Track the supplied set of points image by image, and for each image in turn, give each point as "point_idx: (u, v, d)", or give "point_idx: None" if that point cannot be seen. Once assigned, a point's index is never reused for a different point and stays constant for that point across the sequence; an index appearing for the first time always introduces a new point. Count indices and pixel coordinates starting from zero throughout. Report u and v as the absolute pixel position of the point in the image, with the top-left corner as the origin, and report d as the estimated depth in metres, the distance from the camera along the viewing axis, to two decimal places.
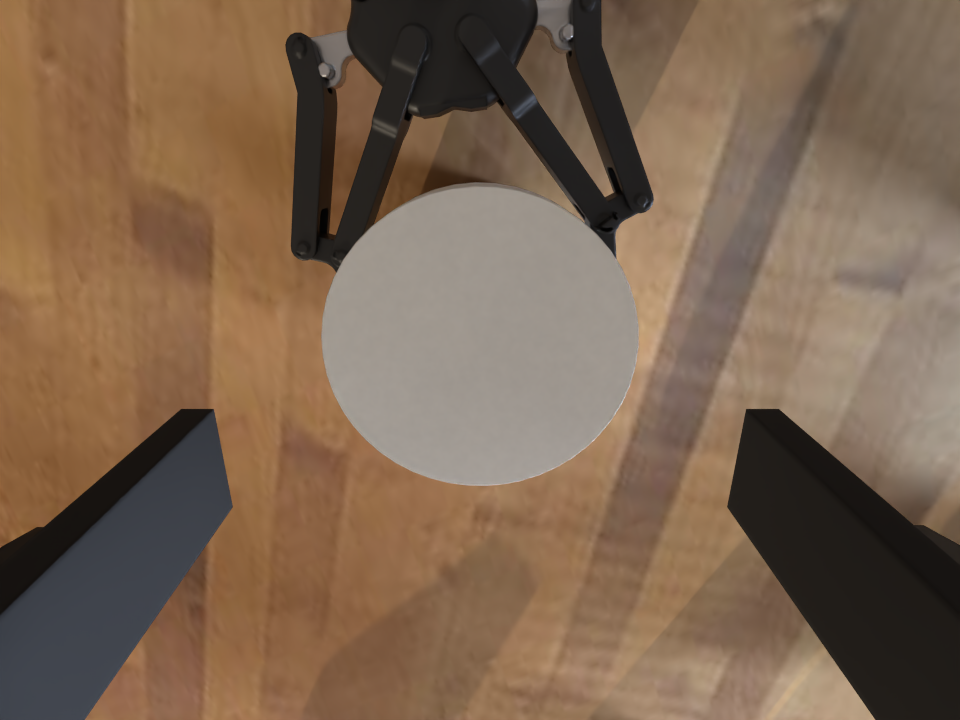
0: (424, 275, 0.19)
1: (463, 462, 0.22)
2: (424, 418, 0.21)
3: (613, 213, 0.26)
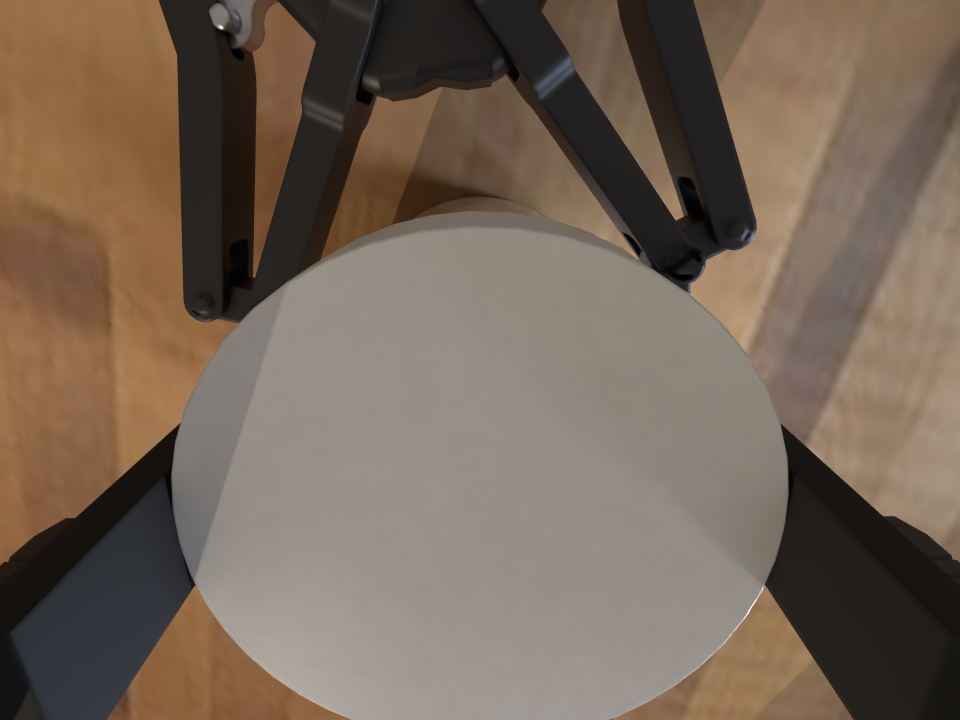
0: (367, 402, 0.09)
1: (450, 710, 0.12)
2: (377, 643, 0.11)
3: (692, 250, 0.16)
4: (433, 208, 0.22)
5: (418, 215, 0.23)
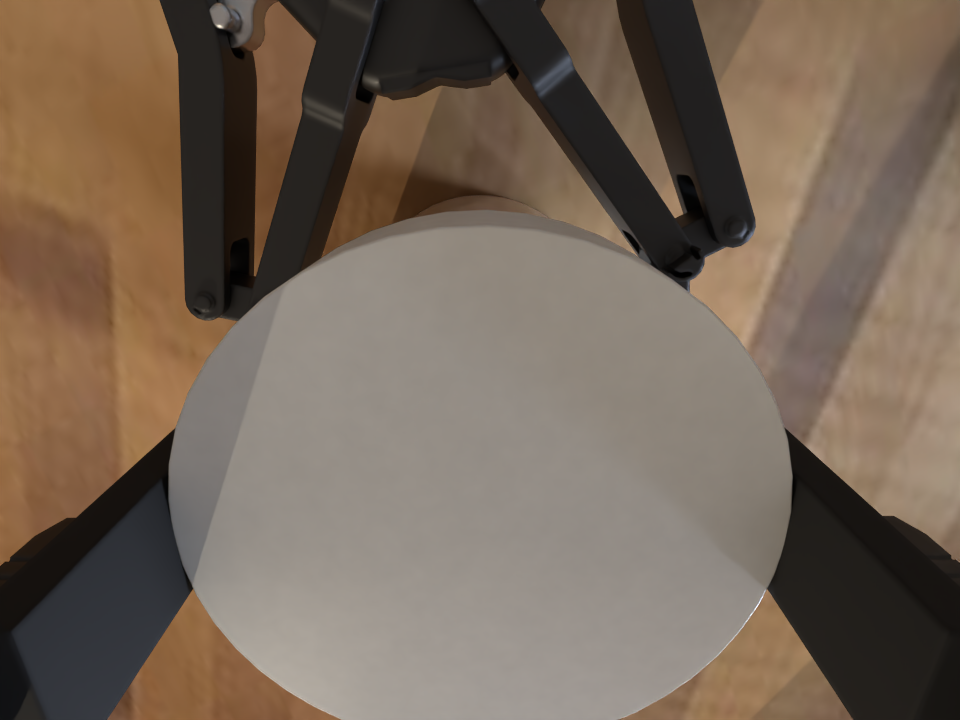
0: (441, 668, 0.12)
1: (709, 413, 0.09)
2: (665, 529, 0.10)
3: (691, 248, 0.16)
4: (433, 206, 0.22)
5: (418, 214, 0.23)
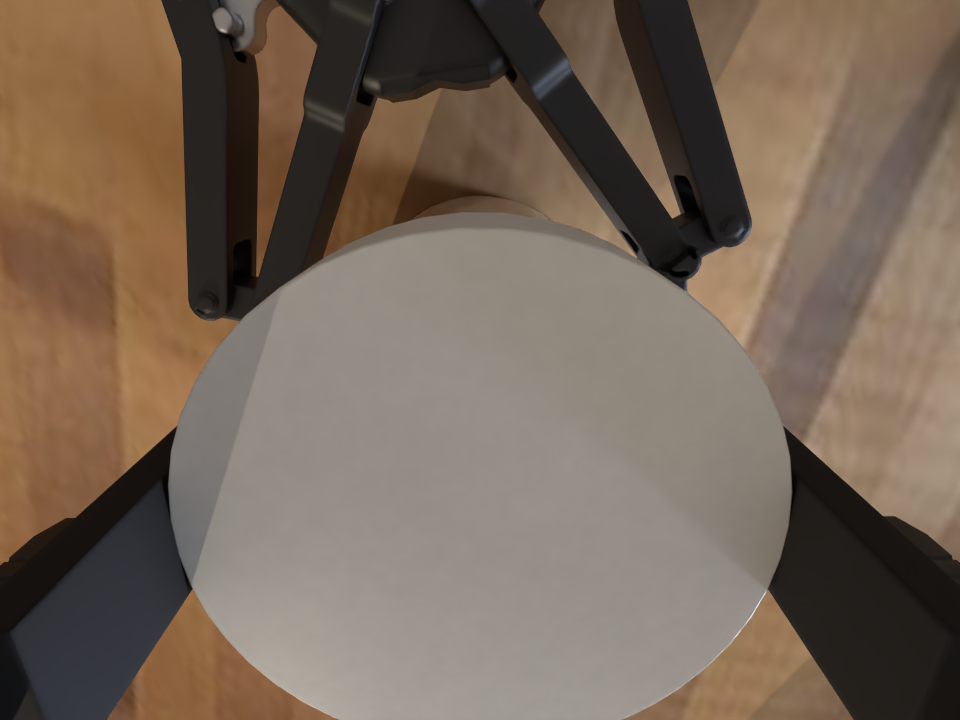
0: (649, 466, 0.10)
1: (227, 488, 0.10)
2: (336, 426, 0.09)
3: (688, 248, 0.17)
4: (433, 207, 0.23)
5: (418, 214, 0.23)
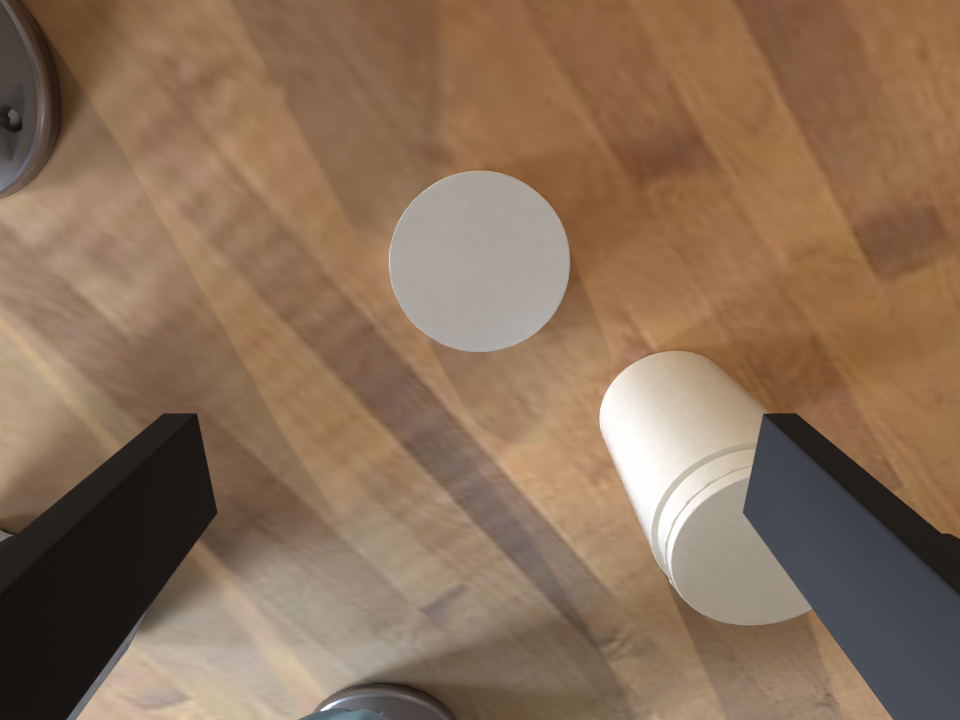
0: (428, 249, 0.35)
1: (512, 329, 0.37)
2: (477, 319, 0.36)
3: None
4: None
5: None
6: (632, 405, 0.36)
